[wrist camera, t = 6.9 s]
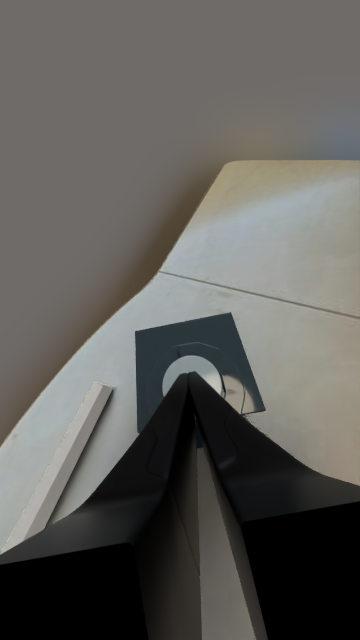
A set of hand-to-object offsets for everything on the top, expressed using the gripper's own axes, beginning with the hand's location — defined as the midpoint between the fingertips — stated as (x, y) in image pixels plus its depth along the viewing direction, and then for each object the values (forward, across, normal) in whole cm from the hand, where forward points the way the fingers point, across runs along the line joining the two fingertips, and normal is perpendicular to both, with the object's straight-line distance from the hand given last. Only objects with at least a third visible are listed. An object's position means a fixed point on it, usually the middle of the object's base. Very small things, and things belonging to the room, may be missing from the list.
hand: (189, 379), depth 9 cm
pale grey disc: (+2, 0, +2) cm, 3 cm away
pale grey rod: (+5, +14, +11) cm, 18 cm away
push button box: (+9, 0, +6) cm, 11 cm away
